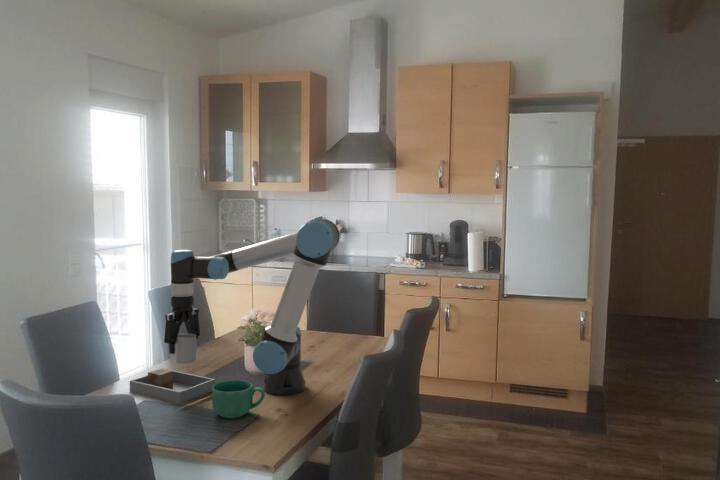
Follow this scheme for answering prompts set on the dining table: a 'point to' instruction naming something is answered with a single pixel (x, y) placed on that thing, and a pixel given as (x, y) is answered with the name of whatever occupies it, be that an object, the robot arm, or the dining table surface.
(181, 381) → the gray tray
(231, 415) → the mug
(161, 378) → the walnut block
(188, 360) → the cup
